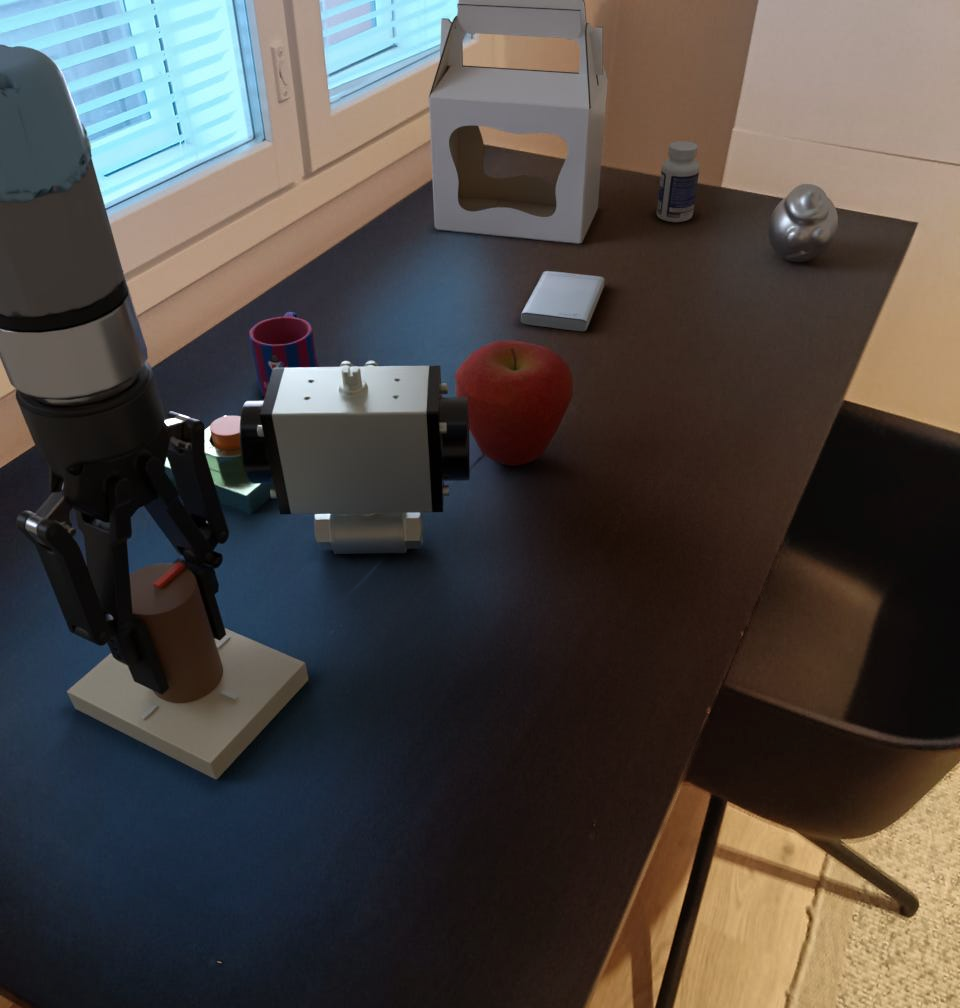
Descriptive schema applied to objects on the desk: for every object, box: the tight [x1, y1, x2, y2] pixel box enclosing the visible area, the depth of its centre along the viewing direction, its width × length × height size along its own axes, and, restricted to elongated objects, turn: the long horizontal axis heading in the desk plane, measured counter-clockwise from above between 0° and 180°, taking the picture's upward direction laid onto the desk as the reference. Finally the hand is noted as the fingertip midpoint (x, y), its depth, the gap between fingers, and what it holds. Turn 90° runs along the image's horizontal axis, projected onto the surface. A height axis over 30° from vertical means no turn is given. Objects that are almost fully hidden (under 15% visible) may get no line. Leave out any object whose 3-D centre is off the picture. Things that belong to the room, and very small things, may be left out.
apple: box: [454, 340, 574, 467], centre depth 89 cm, size 11×11×12 cm
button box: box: [165, 414, 275, 515], centre depth 91 cm, size 11×10×4 cm
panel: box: [66, 627, 310, 781], centre depth 71 cm, size 14×11×2 cm
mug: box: [248, 311, 319, 398], centre depth 103 cm, size 7×10×7 cm
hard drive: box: [520, 270, 605, 332], centre depth 117 cm, size 2×8×12 cm
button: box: [209, 414, 241, 450], centre depth 89 cm, size 4×4×2 cm
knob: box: [129, 562, 223, 703], centre depth 67 cm, size 5×5×9 cm
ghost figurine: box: [767, 183, 839, 263], centre depth 123 cm, size 9×10×10 cm
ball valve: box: [240, 360, 471, 555], centre depth 78 cm, size 18×8×18 cm, turn 91°
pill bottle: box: [655, 140, 701, 223], centre depth 134 cm, size 5×5×10 cm
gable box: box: [428, 0, 609, 245], centre depth 127 cm, size 22×13×28 cm, turn 75°
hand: (181, 656), depth 69 cm, fingers open, 5 cm apart
